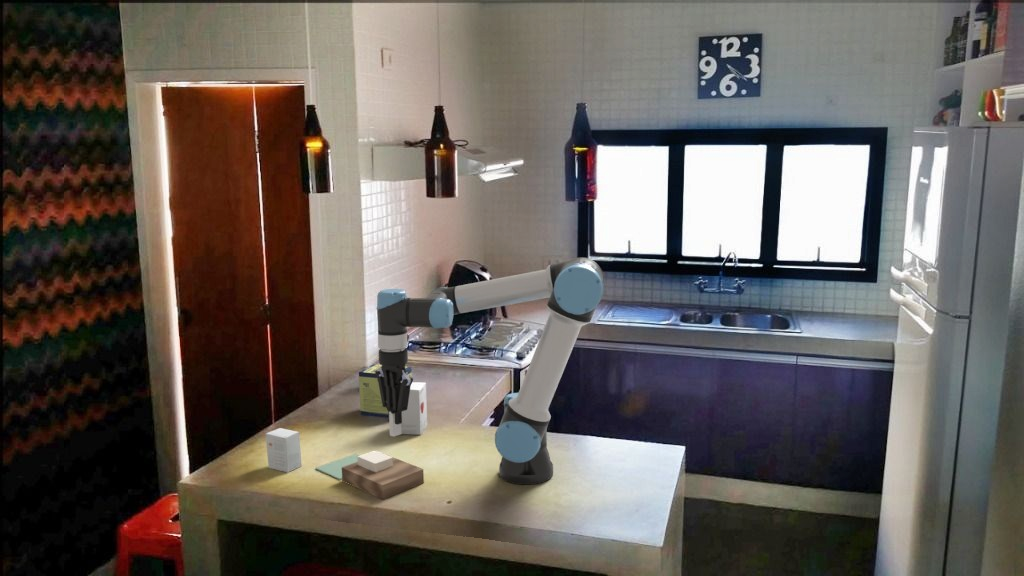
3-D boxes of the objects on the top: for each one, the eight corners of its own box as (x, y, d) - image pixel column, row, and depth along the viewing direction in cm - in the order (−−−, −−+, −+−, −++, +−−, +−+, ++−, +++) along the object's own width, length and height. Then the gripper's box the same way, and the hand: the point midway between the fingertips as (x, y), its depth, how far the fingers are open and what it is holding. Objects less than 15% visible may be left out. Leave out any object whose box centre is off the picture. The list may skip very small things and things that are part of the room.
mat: (380, 465, 237) (380, 463, 237) (340, 480, 227) (340, 478, 227) (355, 455, 245) (355, 453, 245) (315, 469, 235) (315, 467, 235)
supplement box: (420, 435, 261) (419, 390, 258) (393, 434, 262) (391, 389, 260) (428, 425, 270) (426, 381, 267) (401, 424, 271) (400, 381, 268)
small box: (302, 466, 237) (299, 431, 236) (287, 473, 233) (285, 437, 231) (282, 461, 241) (279, 427, 240) (267, 467, 237) (265, 433, 235)
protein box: (401, 419, 276) (399, 374, 274) (359, 415, 281) (357, 371, 278) (414, 409, 286) (412, 366, 283) (373, 406, 291) (371, 363, 288)
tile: (393, 465, 226) (392, 457, 226) (375, 472, 222) (375, 463, 221) (375, 458, 232) (374, 450, 231) (357, 464, 227) (357, 456, 227)
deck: (423, 482, 224) (423, 469, 224) (383, 499, 214) (382, 485, 214) (382, 466, 237) (382, 452, 236) (342, 481, 226) (341, 467, 226)
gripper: (420, 350, 212) (422, 436, 216) (388, 341, 221) (391, 425, 225) (397, 355, 207) (400, 444, 211) (366, 346, 216) (369, 432, 220)
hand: (395, 434), depth 218 cm, fingers closed
